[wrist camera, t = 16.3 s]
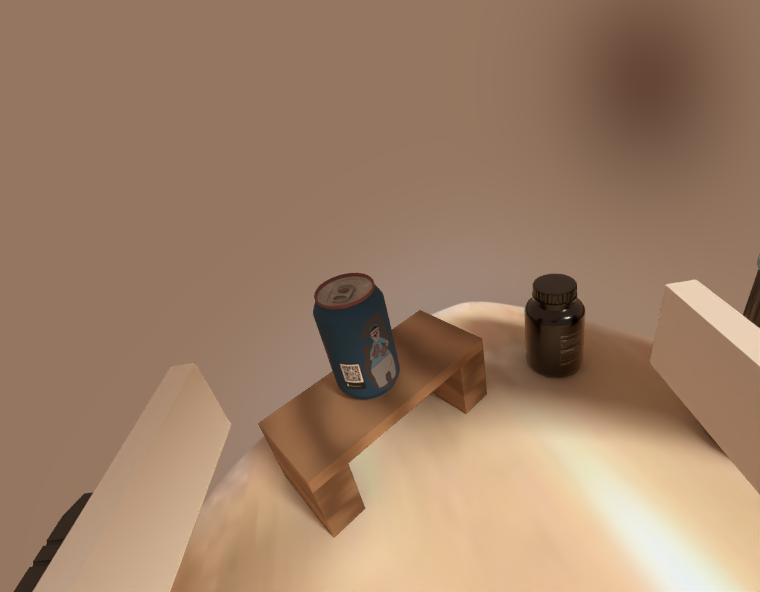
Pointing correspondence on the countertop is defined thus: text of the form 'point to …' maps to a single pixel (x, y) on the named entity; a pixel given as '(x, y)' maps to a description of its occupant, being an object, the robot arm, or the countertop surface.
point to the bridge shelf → (370, 414)
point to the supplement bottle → (554, 326)
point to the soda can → (357, 335)
